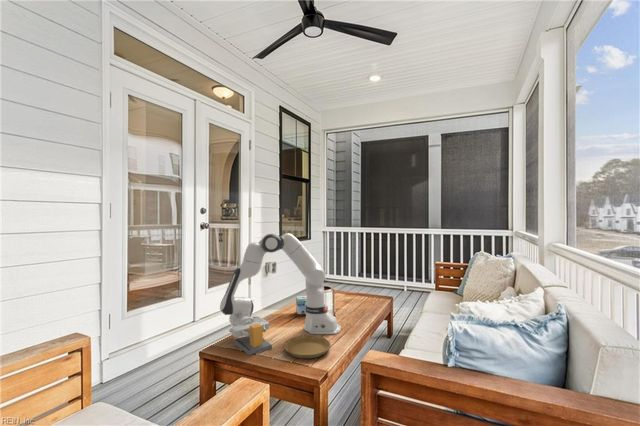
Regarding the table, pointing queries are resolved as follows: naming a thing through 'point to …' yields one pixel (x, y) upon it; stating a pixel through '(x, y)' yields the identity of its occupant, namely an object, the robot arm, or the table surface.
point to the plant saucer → (307, 346)
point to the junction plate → (247, 348)
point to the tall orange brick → (256, 335)
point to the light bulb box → (300, 304)
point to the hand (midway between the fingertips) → (256, 332)
